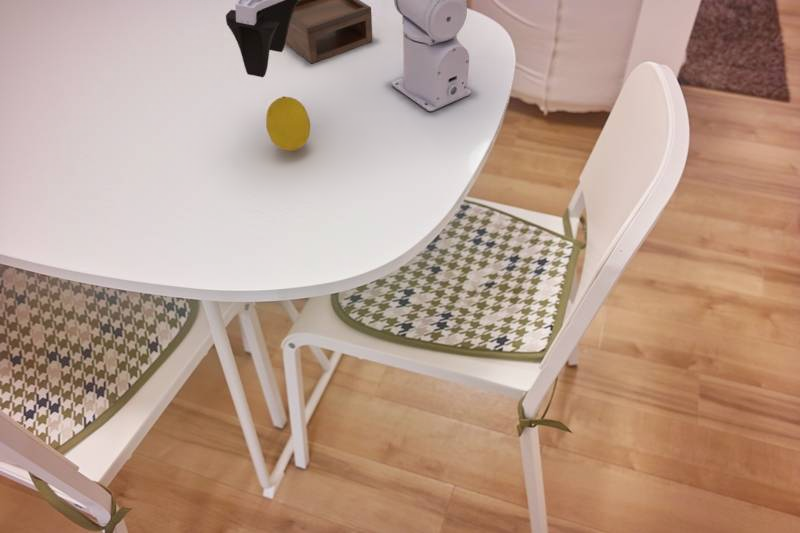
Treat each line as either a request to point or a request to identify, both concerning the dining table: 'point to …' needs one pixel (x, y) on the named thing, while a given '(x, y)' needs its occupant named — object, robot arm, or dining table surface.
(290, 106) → the lemon
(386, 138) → the dining table surface
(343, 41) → the walnut box
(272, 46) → the robot arm
